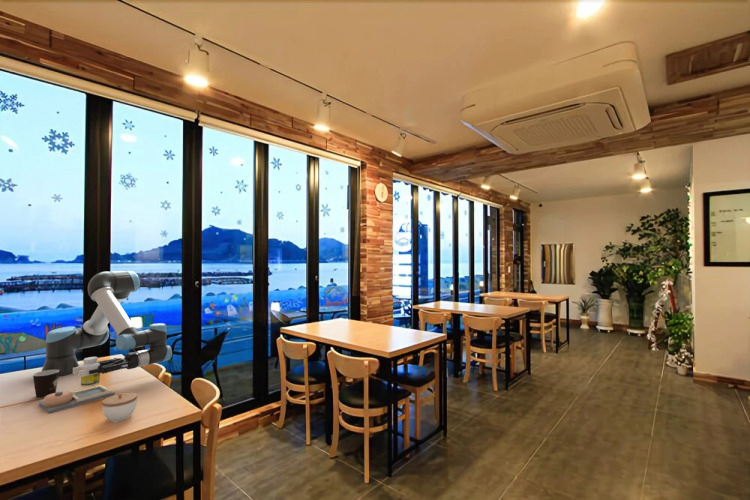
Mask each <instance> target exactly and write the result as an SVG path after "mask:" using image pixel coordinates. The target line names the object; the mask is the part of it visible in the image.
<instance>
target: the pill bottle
mask: <svg viewBox="0 0 750 500" xmlns="http://www.w3.org/2000/svg"><path fill="white" fill-rule="evenodd" d="M98 362H99V361H98V357H97V356H89V357H85V358H84V359H83V363H84V364H82V365H81V366H82V367H81V370H85V369H89V368H94V367H98V366H100V364H99V363H98ZM100 374H101V373H97V374H93V375H88V376H84V377H80V386H81V387H84V388H85V387H87V388H89V387H92V386H93V387H94V386H97V385H98V384H99V383H100V381H101V379H100V378H101V377H100V376H101V375H100Z"/></svg>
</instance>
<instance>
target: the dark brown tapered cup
mask: <svg viewBox="0 0 750 500" xmlns="http://www.w3.org/2000/svg"><path fill="white" fill-rule="evenodd" d="M32 377H33V384H34V392H35V393H34V394H35V398H37V399H44V397H45V396H47V395H49V394H52V393H56V392H57V387H58V383H59V382H58V380H59V377H60V376H59V370H47V371H42V370H40V371H38V372H35V373H33V375H32Z"/></svg>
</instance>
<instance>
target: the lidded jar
mask: <svg viewBox="0 0 750 500" xmlns="http://www.w3.org/2000/svg"><path fill="white" fill-rule="evenodd" d="M137 398H138V394H137V393H134V392H124V393H123V392H122V393H121V392H120V393H118V394H115V395H113V396H110V397H107V398H103V399H102V412H103V415H104V417H105V419H106V420H108V421H109V422H110V421H111V422H110V423H118V422H117V421H119V422H123V421H125V419H126V420H127V418H128V417H129V416H132V414H133V413H134V412H135V410H136V407H137ZM129 418H130V417H129ZM129 418H128V419H129ZM122 420H123V421H122Z"/></svg>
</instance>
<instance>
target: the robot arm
mask: <svg viewBox="0 0 750 500" xmlns="http://www.w3.org/2000/svg"><path fill="white" fill-rule="evenodd" d="M140 286H141V283H140V278H139V275H138V274H137V273H136V272H135V271H132V270H119V271H118V270H117V271H116V270H115V271H101V272H98V273H96V274H95V275H93V277H91V278H90V280H89V281H88V285H87V293H88V296H89V298H90V299H91V300H92V301H93V302H96V303H97V305H98V306H97V307H96V309H95V310H94V312H93V313H92V315H91V317H90V319H88V320H87V321H85V322H84V323H83V324H82V326H81V327H75V326H73V325H72V326H64V327H60V328H55V329H52V330H50V331H48V333H47V334H46V340H45V362H44V363H43V366H42V368H41V371H47V370H59V376H58V377H60V376H62V377H63V376H67V375H71V374H72V375H77V374H78V378H81V377H84V376H88V375H93V374H97V373H100V374H103V375H104V374H107V373H111V372H114V371H119V370H124V369H127V370H133V369H136V368H140V367H142V368H144V367H145V366H150V365H154V364H157V363H163V362H165V361H169V360H170V359H171V358H172V357H173V351H172V347H171V346H170V345H167V332H168V331H167V324H166V323H164V322H163V323H162V322H161V323H151V324H149V326H148V329H145V330H139V331H138V330H137V329H136V327H135V325H134V324H133V322H132V321H131V319H130V317H129V316H128V314H127V313H126V311H125V310H124V308H123V307H122V304H121V303H122V301H123V300H125V299H127V298H129V296H130V294H131V293H134V292H137V291H138V290H139V289H140ZM108 324H110V326H111V328H112V329H113V330H114V333H116V335H117V337H116V339H115V345H116V349H118V351H121V352H123V351H129V350H134V349H137V348H138V349H139V348H141V347H147V346H148V348H147V349H143V350H137V351H133V352H128V353H126V354H125V355H124V357H123V358H121V357H114V358H109V359H106V360H105V359H104V360H99V361H97V362H98V363H99V364H100V366H98V367H94V368H89V369H85V370H81V367H82V365H81V366H80V365H79V363H78V360H77V356H76V350H77V351H78V350H82V349H87V348H92V347H97V346H101V345H103V344H105V343H106V342H107V340H108V339H109V336H110V328H109V326H108Z"/></svg>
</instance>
